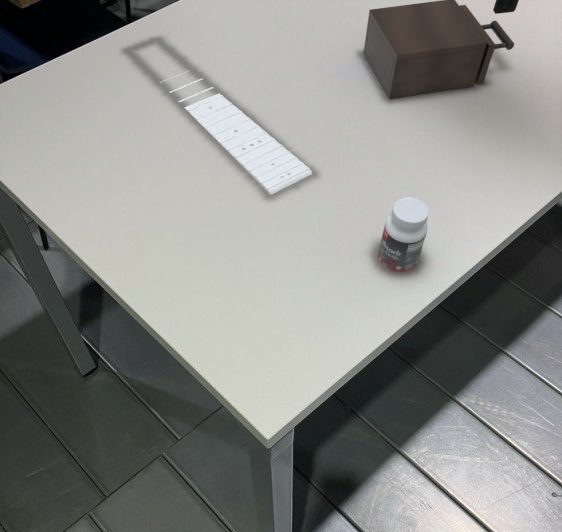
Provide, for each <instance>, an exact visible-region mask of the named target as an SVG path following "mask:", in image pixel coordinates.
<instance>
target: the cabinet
mask: <svg viewBox="0 0 562 532" xmlns="http://www.w3.org/2000/svg"><path fill="white" fill-rule="evenodd" d="M486 44H487V42H486V41H485V40H484V38H483V37H482V36H481V34H480V33H479V32H478V30H477V29H476V28H475V26H474V25H473V24H472V22H471V21H470V20H469V18H468V17H467V16H466V14H465V13H464V12H463V10H462V9H461V8H460V5H459V3H458V2H457V0H435V1H434V0H433V1H427V2H418V3H410V4H403V5H395V6H387V7H379V8H370V9H369V11H368V18H367V25H366V32H365V40H364V46H363V55H364V57H365V59H366V61H367V62H368V65H369V66H370V68H371V69H372V71H373V73H374V75H375V76H376V79H377V80H378V82H379V84H380V85H381V87H382V89H383V91H384V92H385V94H386V96H387V98H388V100H393V99H400V98H406V97H413V96H420V95H427V94H432V93H439V92H445V91H453V90H459V89H465V88H473V87H474V86H475V82H476V81H475V79H476V76H477V73H478V70H479V66H480V63H481V60H482V57H483V54H484V50H485V48H486Z"/></svg>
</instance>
